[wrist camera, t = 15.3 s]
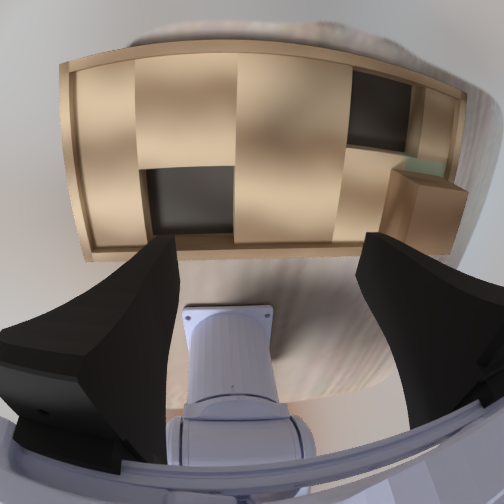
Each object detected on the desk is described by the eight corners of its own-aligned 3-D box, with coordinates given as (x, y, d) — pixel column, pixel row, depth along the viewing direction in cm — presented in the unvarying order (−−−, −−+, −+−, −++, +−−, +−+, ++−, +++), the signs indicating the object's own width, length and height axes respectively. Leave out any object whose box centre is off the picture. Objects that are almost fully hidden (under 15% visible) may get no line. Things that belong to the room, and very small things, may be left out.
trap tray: (418, 239, 24) (433, 253, 21) (97, 244, 21) (85, 262, 18) (446, 90, 17) (467, 93, 14) (77, 66, 14) (59, 64, 11)
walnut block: (425, 232, 21) (449, 254, 18) (378, 232, 20) (400, 256, 17) (439, 176, 18) (468, 192, 15) (391, 168, 18) (419, 185, 15)
